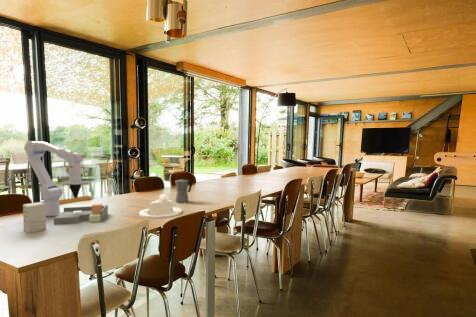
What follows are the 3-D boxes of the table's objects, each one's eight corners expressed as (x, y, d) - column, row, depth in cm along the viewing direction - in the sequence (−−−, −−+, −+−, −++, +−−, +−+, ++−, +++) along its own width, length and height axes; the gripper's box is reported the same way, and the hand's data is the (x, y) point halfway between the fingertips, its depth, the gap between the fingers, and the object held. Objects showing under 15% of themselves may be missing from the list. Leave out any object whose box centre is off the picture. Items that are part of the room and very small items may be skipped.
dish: (161, 207, 189) (161, 190, 188) (190, 211, 176) (190, 193, 175) (129, 214, 168) (129, 195, 167) (160, 221, 155) (160, 200, 154)
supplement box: (41, 226, 142) (40, 201, 141) (46, 229, 137) (45, 203, 137) (23, 230, 136) (22, 204, 136) (28, 233, 132) (27, 206, 131)
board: (53, 224, 147) (53, 213, 147) (64, 216, 162) (64, 206, 162) (102, 221, 153) (101, 211, 152) (107, 214, 168) (107, 204, 168)
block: (91, 213, 156) (91, 205, 156) (93, 211, 161) (93, 203, 160) (100, 213, 158) (100, 205, 157) (102, 211, 162) (102, 203, 162)
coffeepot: (170, 202, 203) (170, 176, 202) (179, 199, 211) (178, 175, 210) (187, 204, 196) (187, 178, 195) (196, 201, 204) (196, 176, 203)
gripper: (58, 175, 157) (59, 199, 158) (87, 174, 160) (88, 198, 161) (62, 173, 164) (63, 197, 164) (90, 173, 167) (91, 196, 168)
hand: (75, 197), depth 163 cm, fingers closed
